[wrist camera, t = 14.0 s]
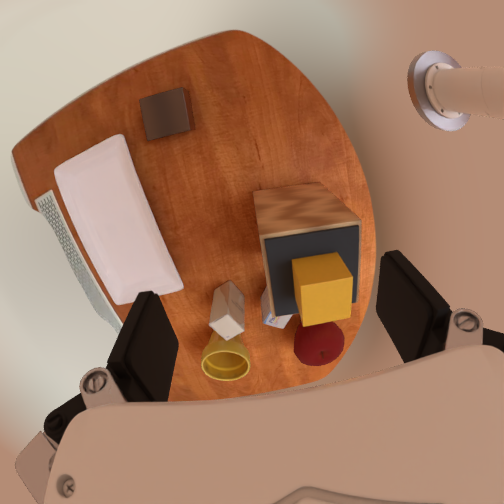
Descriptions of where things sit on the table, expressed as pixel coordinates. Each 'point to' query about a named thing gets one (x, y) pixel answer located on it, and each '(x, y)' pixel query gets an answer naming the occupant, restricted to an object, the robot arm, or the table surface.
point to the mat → (306, 246)
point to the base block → (167, 113)
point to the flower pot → (225, 358)
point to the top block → (322, 288)
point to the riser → (299, 217)
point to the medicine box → (266, 313)
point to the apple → (318, 343)
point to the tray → (116, 221)
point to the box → (227, 311)
